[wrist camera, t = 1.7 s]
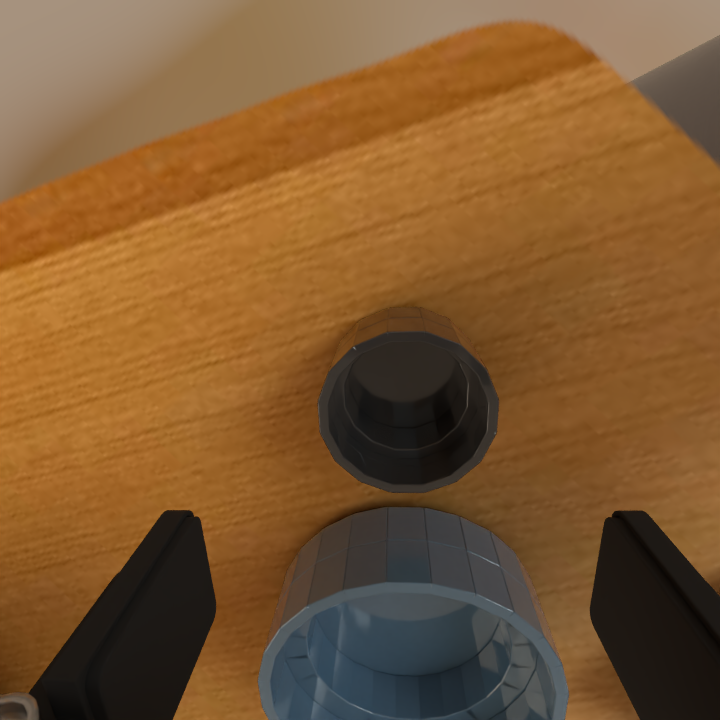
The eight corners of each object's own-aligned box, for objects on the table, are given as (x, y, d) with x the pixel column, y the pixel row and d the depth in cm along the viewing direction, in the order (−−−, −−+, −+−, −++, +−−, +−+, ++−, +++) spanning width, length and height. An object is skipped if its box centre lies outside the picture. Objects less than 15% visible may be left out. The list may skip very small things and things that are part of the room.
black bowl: (403, 273, 19) (406, 291, 15) (507, 373, 21) (536, 417, 16) (304, 376, 21) (282, 418, 17) (404, 462, 23) (407, 521, 18)
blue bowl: (404, 450, 22) (408, 524, 17) (584, 606, 25) (635, 712, 20) (237, 596, 26) (199, 692, 21) (406, 718, 29) (409, 830, 24)
